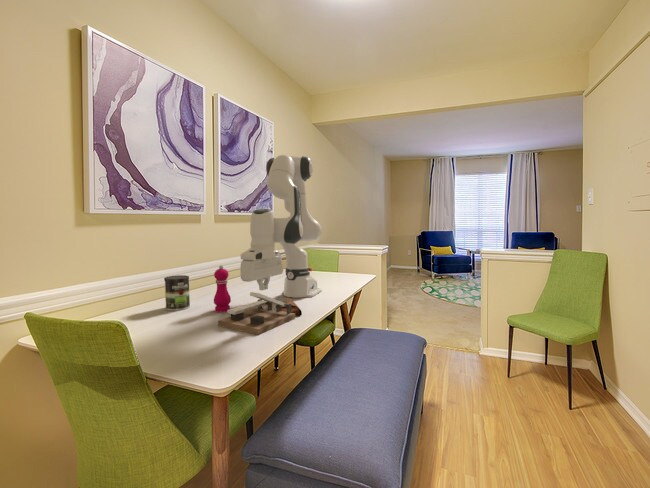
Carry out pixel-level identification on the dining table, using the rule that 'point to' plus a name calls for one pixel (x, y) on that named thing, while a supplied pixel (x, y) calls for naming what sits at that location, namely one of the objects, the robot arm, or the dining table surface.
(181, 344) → the dining table surface
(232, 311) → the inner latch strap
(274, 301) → the strap
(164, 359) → the dining table surface
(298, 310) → the sunglasses case
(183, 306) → the coffee can
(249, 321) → the base
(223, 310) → the pepper mill
